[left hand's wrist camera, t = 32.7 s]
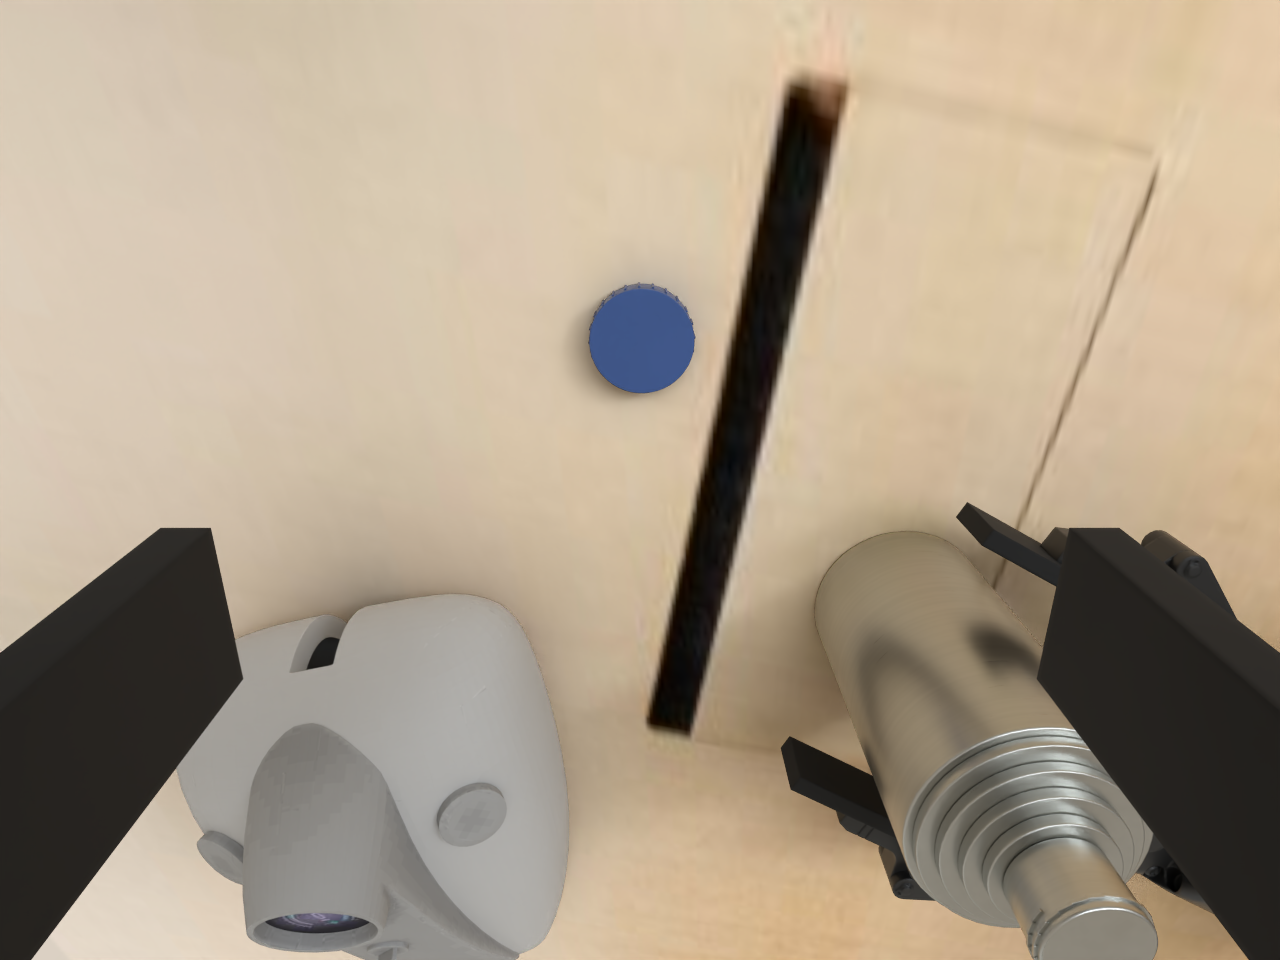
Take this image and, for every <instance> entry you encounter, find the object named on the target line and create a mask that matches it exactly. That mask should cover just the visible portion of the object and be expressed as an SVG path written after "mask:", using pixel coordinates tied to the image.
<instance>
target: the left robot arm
mask: <svg viewBox="0 0 1280 960" xmlns="http://www.w3.org/2000/svg"><path fill="white" fill-rule="evenodd" d="M242 680H243V675H242V670H241V665H240V661H239V656H238V651H237V647H236V642H235V638H234V633H233V628H232V624H231V619H230V615H229V610H228V605H227V601H226V596H225V591H224V587H223V582H222V578H221V573H220V568H219V564H218V559H217V555H216V550H215V545H214V541H213V536H212V532H211V528H160V529H159V530H157V531H156V532H155V533H154V534H152V535H151V536H150V537H148V538H147V539H146V540H145V541H143V542H142V543H141V544H139V545H138V546H137V547H136V548H134V549H133V550H132V551H130V552H129V553H128V554H127V555H125V556H124V557H123V558H121V559H120V560H119V561H118V562H116V563H115V564H114V565H113V566H111V567H110V568H109V569H107V570H106V571H105V572H104V573H102V574H101V575H100V576H98V577H97V578H96V579H95V580H93V581H92V582H91V583H89V584H88V585H87V586H86V587H84V588H83V589H82V590H80V591H79V592H78V593H77V594H75V595H74V596H73V597H71V598H70V599H69V600H68V601H66V602H65V603H64V604H62V605H61V606H60V607H59V608H57V609H56V610H55V611H53V612H52V613H51V614H50V615H48V616H47V617H46V618H44V619H43V620H42V621H41V622H39V623H38V624H37V625H35V626H34V627H33V628H32V629H30V630H29V631H28V632H26V633H25V634H24V635H23V636H21V637H20V638H19V639H18V640H16V641H15V642H14V643H12V644H11V645H10V646H9V647H7V648H6V649H5V650H3V651H2V652H1V653H0V960H31V959H32V958H33V957H34V955H35V954H36V953H37V951H38V950H39V949H40V947H41V946H42V945H43V943H44V942H45V941H46V939H47V938H48V937H49V935H50V934H51V933H52V932H53V930H54V929H55V928H56V926H57V925H58V924H59V922H60V921H61V920H62V918H63V917H64V916H65V914H66V913H67V912H68V910H69V909H70V908H71V906H72V905H73V904H74V902H75V901H76V900H77V898H78V897H79V896H80V895H81V893H82V892H83V891H84V889H85V888H86V887H87V885H88V884H89V883H90V881H91V880H92V879H93V877H94V876H95V875H96V873H97V872H98V871H99V869H100V868H101V867H102V865H103V864H104V863H105V861H106V860H107V859H108V857H109V856H110V855H111V854H112V852H113V851H114V850H115V848H116V847H117V846H118V844H119V843H120V842H121V840H122V839H123V838H124V836H125V835H126V834H127V832H128V831H129V830H130V828H131V827H132V826H133V824H134V823H135V822H136V820H137V819H138V818H139V816H140V815H141V814H142V813H143V811H144V810H145V809H146V807H147V806H148V805H149V803H150V802H151V801H152V799H153V798H154V797H155V795H156V794H157V793H158V791H159V790H160V789H161V787H162V786H163V785H164V783H165V782H166V781H167V779H168V778H169V777H170V775H171V774H172V773H173V772H174V770H175V769H176V768H177V766H178V765H179V764H180V762H181V761H182V760H183V758H184V757H185V756H186V754H187V753H188V752H189V750H190V749H191V748H192V746H193V745H194V744H195V742H196V741H197V740H198V738H199V737H200V736H201V734H202V733H203V732H204V731H205V729H206V728H207V727H208V725H209V724H210V723H211V721H212V720H213V719H214V717H215V716H216V715H217V713H218V712H219V711H220V709H221V708H222V707H223V705H224V704H225V703H226V701H227V700H228V699H229V697H230V696H231V695H232V693H233V692H234V691H235V690H236V688H237V687H238V686H239V684H240V683H241V682H242ZM1037 680H1038V682H1039V683H1040V684H1041V686H1042V687H1043V688H1044V690H1045V691H1046V692H1047V693H1048V695H1049V696H1050V697H1051V699H1052V700H1053V701H1054V703H1055V704H1056V705H1057V707H1058V708H1059V709H1060V711H1061V712H1062V713H1063V715H1064V716H1065V717H1066V719H1067V720H1068V721H1069V723H1070V724H1071V725H1072V727H1073V728H1074V729H1075V731H1076V732H1077V733H1078V734H1079V736H1080V737H1081V738H1082V740H1083V741H1084V742H1085V744H1086V745H1087V746H1088V748H1089V749H1090V750H1091V752H1092V753H1093V754H1094V756H1095V757H1096V758H1097V760H1098V761H1099V762H1100V764H1101V765H1102V766H1103V768H1104V769H1105V770H1106V772H1107V773H1108V774H1109V775H1110V777H1111V778H1112V779H1113V781H1114V782H1115V783H1116V785H1117V786H1118V787H1119V789H1120V790H1121V791H1122V793H1123V794H1124V795H1125V797H1126V798H1127V799H1128V801H1129V802H1130V803H1131V805H1132V806H1133V807H1134V809H1135V810H1136V811H1137V813H1138V814H1139V815H1140V816H1141V818H1142V819H1143V820H1144V822H1145V823H1146V824H1147V826H1148V827H1149V828H1150V830H1151V831H1152V832H1153V834H1154V835H1155V836H1156V838H1157V839H1158V840H1159V842H1160V843H1161V844H1162V846H1163V847H1164V848H1165V850H1166V851H1167V852H1168V854H1169V855H1170V856H1171V857H1172V859H1173V860H1174V861H1175V863H1176V864H1177V865H1178V867H1179V868H1180V869H1181V871H1182V872H1183V873H1184V875H1185V876H1186V877H1187V879H1188V880H1189V881H1190V883H1191V884H1192V885H1193V887H1194V888H1195V889H1196V891H1197V892H1198V893H1199V895H1200V896H1201V897H1202V898H1203V900H1204V901H1205V902H1206V904H1207V905H1208V906H1209V908H1210V909H1211V910H1212V912H1213V913H1214V914H1215V916H1216V917H1217V918H1218V920H1219V921H1220V922H1221V924H1222V925H1223V926H1224V928H1225V929H1226V930H1227V932H1228V933H1229V934H1230V935H1231V937H1232V938H1233V939H1234V941H1235V942H1236V943H1237V945H1238V946H1239V947H1240V949H1241V950H1242V951H1243V953H1244V954H1245V955H1246V957H1247V958H1248V959H1249V960H1280V653H1279V652H1278V651H1277V650H1275V649H1274V648H1273V647H1271V646H1270V645H1269V644H1268V643H1266V642H1265V641H1264V640H1262V639H1261V638H1260V637H1259V636H1257V635H1256V634H1255V633H1254V632H1252V631H1251V630H1250V629H1248V628H1247V627H1246V626H1245V625H1243V624H1242V623H1241V622H1239V621H1238V620H1237V619H1236V618H1234V617H1233V616H1232V615H1230V614H1229V613H1228V612H1227V611H1225V610H1224V609H1223V608H1221V607H1220V606H1219V605H1218V604H1216V603H1215V602H1214V601H1212V600H1211V599H1210V598H1209V597H1207V596H1206V595H1205V594H1203V593H1202V592H1201V591H1200V590H1198V589H1197V588H1196V587H1194V586H1193V585H1192V584H1191V583H1189V582H1188V581H1187V580H1185V579H1184V578H1183V577H1182V576H1180V575H1179V574H1178V573H1176V572H1175V571H1174V570H1173V569H1171V568H1170V567H1169V566H1167V565H1166V564H1165V563H1164V562H1162V561H1161V560H1160V559H1159V558H1157V557H1156V556H1155V555H1153V554H1152V553H1151V552H1150V551H1148V550H1147V549H1146V548H1144V547H1143V546H1142V545H1141V544H1139V543H1138V542H1137V541H1135V540H1134V539H1133V538H1132V537H1130V536H1129V535H1128V534H1126V533H1125V532H1124V531H1123V530H1121V529H1120V528H1069V532H1068V536H1067V541H1066V545H1065V550H1064V555H1063V559H1062V564H1061V568H1060V573H1059V578H1058V582H1057V587H1056V591H1055V596H1054V601H1053V605H1052V610H1051V615H1050V619H1049V624H1048V628H1047V633H1046V638H1045V642H1044V647H1043V651H1042V656H1041V661H1040V665H1039V670H1038V675H1037Z"/></svg>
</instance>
